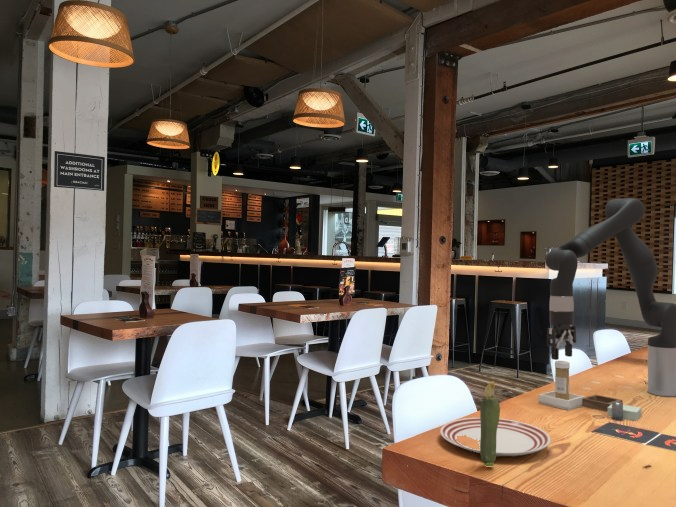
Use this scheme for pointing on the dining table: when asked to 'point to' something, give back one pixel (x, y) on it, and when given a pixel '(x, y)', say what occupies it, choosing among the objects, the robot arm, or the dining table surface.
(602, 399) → the socket block
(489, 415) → the vegetable
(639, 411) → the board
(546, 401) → the tray
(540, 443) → the dinner plate
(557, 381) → the sprinkles bottle
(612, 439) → the dining table surface
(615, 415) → the cylinder
